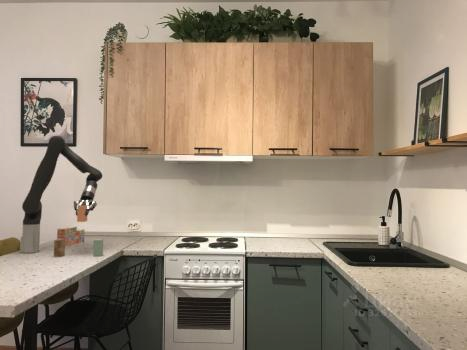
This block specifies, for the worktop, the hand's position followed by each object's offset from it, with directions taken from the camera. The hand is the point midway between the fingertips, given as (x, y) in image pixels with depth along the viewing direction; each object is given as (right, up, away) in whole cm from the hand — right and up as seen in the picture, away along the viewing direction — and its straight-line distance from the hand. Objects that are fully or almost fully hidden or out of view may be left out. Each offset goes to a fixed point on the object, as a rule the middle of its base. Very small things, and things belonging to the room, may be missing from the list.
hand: (81, 214), depth 192 cm
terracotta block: (0, -4, +2) cm, 5 cm away
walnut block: (-11, -24, -4) cm, 27 cm away
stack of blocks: (-24, -25, +35) cm, 49 cm away
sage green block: (+11, -24, -2) cm, 27 cm away
